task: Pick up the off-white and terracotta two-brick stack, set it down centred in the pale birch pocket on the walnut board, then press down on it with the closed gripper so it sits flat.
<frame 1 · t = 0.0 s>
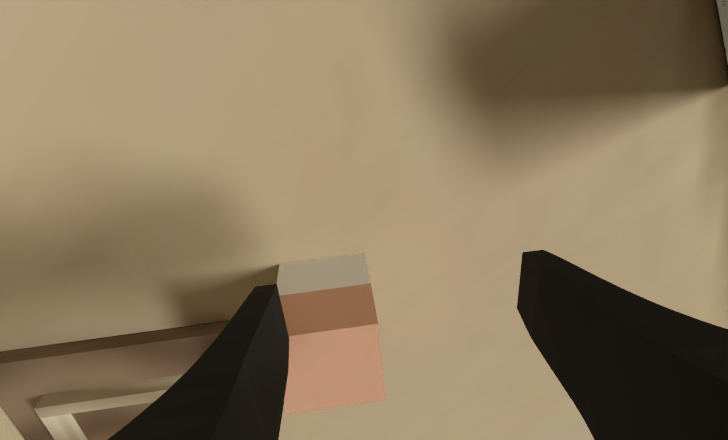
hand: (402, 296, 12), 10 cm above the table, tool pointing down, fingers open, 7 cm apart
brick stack: (328, 292, 24), on the table
walnut board: (148, 417, 27), on the table
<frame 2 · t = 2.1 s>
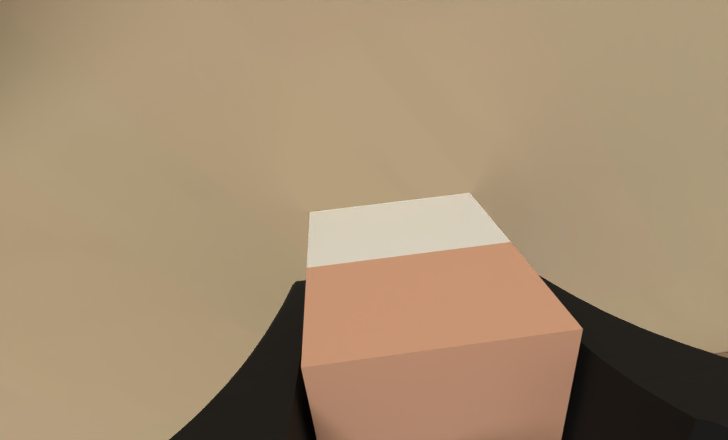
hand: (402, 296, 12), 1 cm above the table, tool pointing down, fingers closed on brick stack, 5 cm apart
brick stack: (394, 269, 13), on the table, touching gripper
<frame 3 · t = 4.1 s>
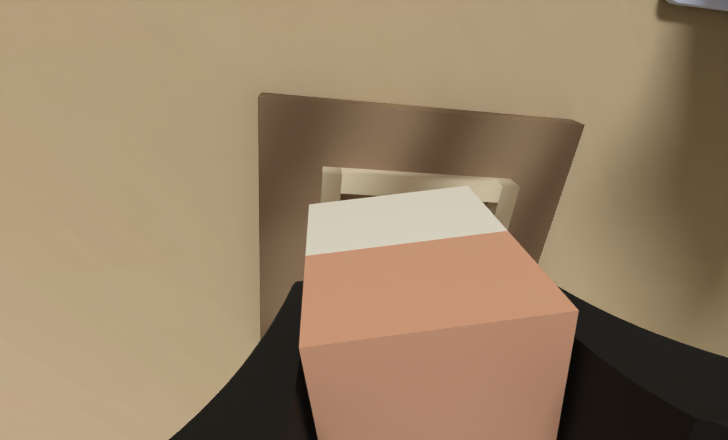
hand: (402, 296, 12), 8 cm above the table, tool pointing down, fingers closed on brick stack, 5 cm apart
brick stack: (393, 262, 13), point 7 cm above the table, touching gripper
walnut board: (401, 245, 21), on the table
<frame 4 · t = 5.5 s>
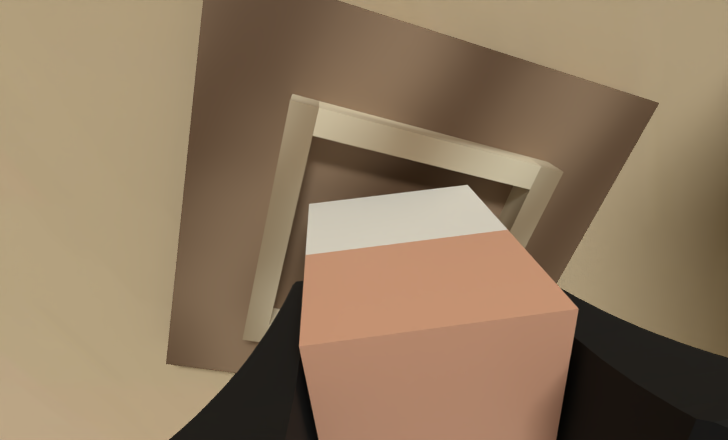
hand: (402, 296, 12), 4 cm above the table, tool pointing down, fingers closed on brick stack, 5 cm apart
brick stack: (393, 262, 13), point 2 cm above the table, touching gripper
walnut board: (384, 233, 16), on the table
when the fingers open (4 cm above the table, at t = 6.4 s): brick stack drops 1 cm, resting on walnut board.
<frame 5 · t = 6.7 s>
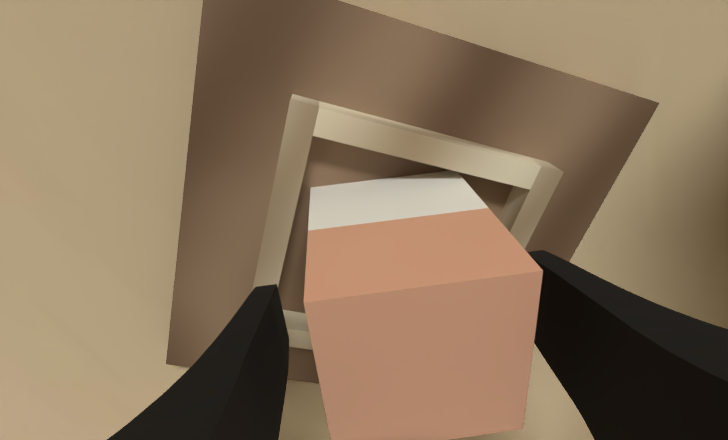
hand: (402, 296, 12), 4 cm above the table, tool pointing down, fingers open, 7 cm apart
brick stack: (388, 241, 15), point 1 cm above the table, touching walnut board
walnut board: (384, 233, 16), on the table
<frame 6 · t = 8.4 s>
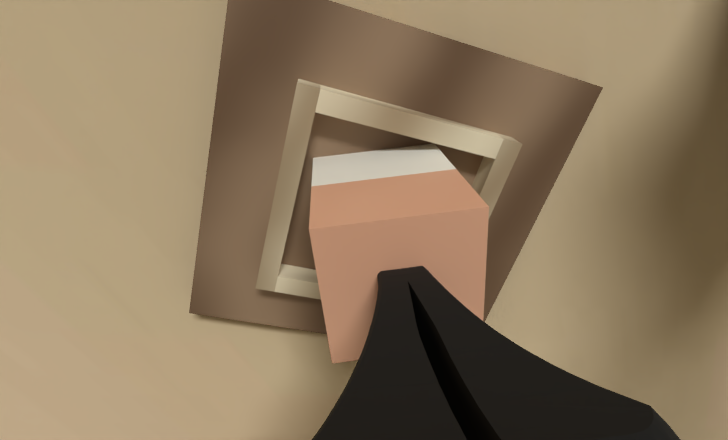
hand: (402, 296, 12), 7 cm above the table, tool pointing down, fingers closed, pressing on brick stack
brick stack: (378, 205, 17), point 1 cm above the table, touching gripper, walnut board
walnut board: (375, 200, 18), on the table
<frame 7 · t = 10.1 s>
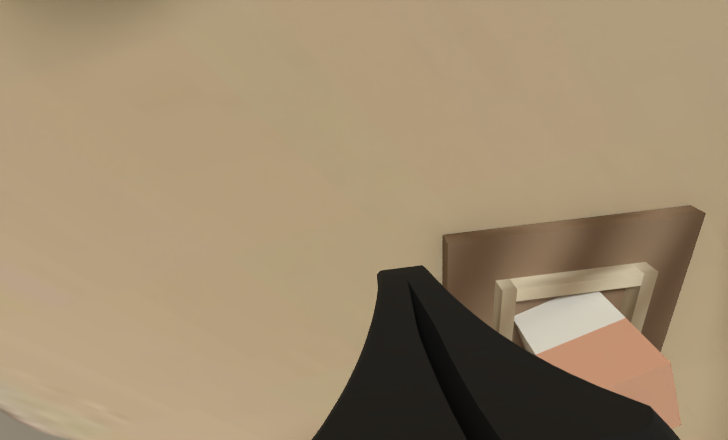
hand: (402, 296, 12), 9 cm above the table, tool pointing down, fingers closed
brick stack: (560, 328, 25), point 1 cm above the table, touching walnut board
walnut board: (552, 319, 26), on the table
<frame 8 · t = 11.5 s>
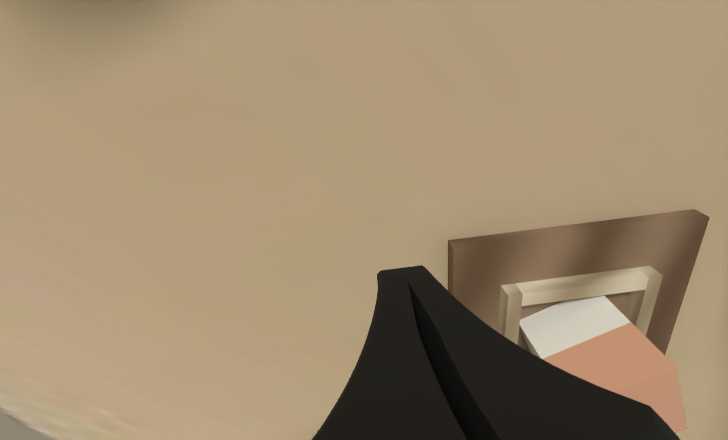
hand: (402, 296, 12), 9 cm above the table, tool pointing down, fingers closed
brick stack: (565, 331, 25), point 1 cm above the table, touching walnut board
walnut board: (557, 323, 26), on the table
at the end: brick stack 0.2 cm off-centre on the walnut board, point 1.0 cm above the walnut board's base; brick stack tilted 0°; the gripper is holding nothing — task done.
